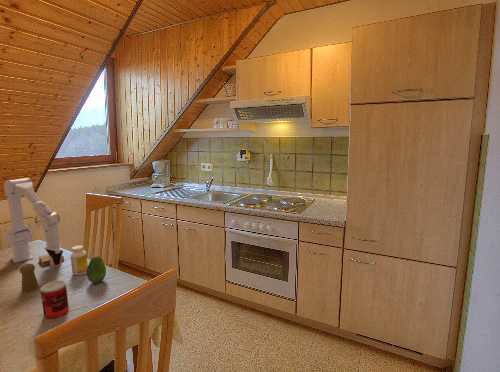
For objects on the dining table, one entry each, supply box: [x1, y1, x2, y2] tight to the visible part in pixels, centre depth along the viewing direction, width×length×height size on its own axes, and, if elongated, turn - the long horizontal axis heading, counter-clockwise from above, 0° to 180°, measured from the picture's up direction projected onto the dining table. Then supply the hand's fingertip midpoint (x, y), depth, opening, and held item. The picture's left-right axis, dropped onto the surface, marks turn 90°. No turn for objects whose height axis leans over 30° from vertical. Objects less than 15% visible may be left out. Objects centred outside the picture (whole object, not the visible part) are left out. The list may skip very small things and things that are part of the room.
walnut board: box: [38, 253, 65, 267], centre depth 154 cm, size 9×9×2 cm
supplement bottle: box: [70, 244, 89, 276], centre depth 140 cm, size 7×7×13 cm
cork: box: [19, 263, 40, 294], centre depth 126 cm, size 6×6×11 cm
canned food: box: [39, 280, 70, 319], centre depth 109 cm, size 8×8×11 cm
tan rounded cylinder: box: [49, 255, 62, 269], centre depth 148 cm, size 5×5×6 cm
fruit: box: [85, 256, 107, 284], centre depth 131 cm, size 8×8×12 cm
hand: (55, 262), depth 149 cm, fingers closed on tan rounded cylinder, 5 cm apart
